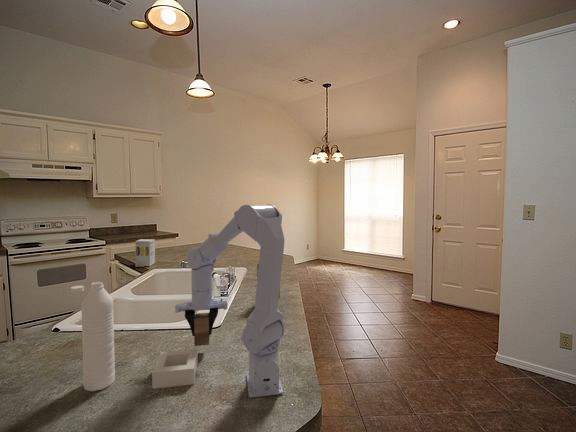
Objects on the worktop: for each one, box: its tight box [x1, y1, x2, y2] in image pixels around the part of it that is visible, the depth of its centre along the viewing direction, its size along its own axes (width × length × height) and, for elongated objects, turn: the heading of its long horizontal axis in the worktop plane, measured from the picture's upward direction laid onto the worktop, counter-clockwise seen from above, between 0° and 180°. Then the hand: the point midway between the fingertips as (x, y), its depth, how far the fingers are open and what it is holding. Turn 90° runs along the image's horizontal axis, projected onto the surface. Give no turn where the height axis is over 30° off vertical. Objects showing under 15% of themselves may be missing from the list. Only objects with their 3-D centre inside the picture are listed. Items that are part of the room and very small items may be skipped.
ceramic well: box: [151, 348, 199, 390], centre depth 76 cm, size 10×10×4 cm
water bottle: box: [70, 281, 116, 392], centre depth 70 cm, size 9×6×25 cm
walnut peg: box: [193, 312, 211, 347], centre depth 87 cm, size 4×4×8 cm
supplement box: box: [134, 238, 156, 268], centre depth 195 cm, size 10×9×17 cm
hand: (202, 334), depth 87 cm, fingers closed on walnut peg, 4 cm apart
